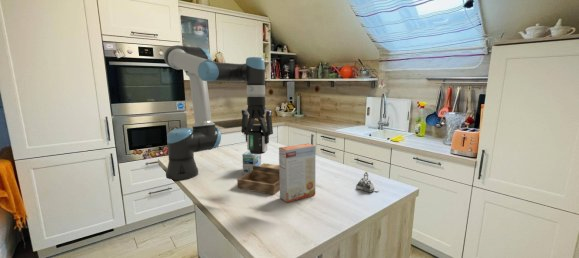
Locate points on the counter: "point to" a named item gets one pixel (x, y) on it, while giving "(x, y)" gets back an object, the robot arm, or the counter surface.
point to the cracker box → (297, 172)
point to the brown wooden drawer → (260, 182)
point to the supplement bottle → (256, 139)
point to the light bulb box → (250, 161)
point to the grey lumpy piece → (365, 184)
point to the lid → (266, 169)
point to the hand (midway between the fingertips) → (257, 150)
